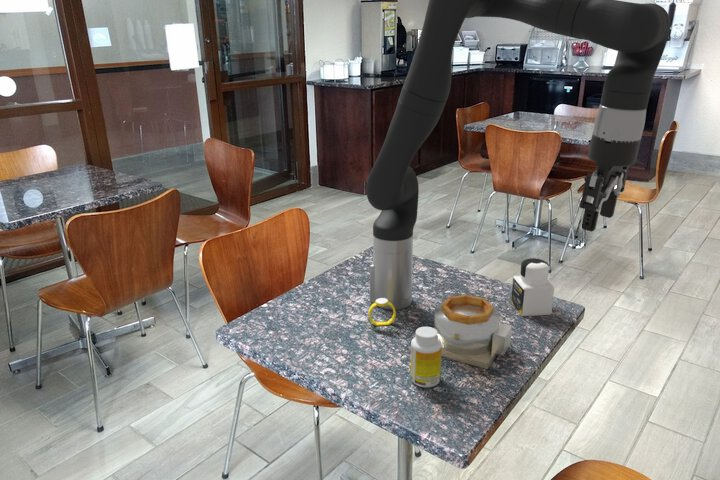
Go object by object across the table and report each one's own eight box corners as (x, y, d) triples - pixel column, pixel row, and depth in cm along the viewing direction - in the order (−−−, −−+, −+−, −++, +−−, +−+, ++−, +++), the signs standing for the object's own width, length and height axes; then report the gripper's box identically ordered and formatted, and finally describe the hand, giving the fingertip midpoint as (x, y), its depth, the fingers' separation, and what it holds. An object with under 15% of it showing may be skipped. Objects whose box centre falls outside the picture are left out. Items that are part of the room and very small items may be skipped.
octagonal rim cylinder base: (420, 350, 112) (421, 312, 109) (446, 321, 123) (447, 285, 120) (496, 371, 105) (499, 331, 102) (516, 338, 116) (519, 301, 113)
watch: (370, 329, 121) (368, 305, 119) (368, 323, 124) (366, 299, 122) (397, 325, 122) (395, 301, 119) (395, 319, 124) (393, 296, 122)
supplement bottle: (446, 384, 101) (448, 335, 98) (420, 392, 99) (421, 342, 95) (429, 368, 106) (431, 321, 102) (404, 376, 104) (405, 328, 100)
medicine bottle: (510, 302, 132) (514, 256, 127) (539, 301, 132) (544, 254, 128) (521, 316, 125) (525, 268, 121) (551, 315, 125) (557, 266, 121)
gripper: (609, 123, 99) (591, 207, 106) (577, 136, 89) (560, 228, 96) (654, 130, 94) (632, 217, 101) (625, 146, 85) (603, 241, 92)
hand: (597, 222), depth 99 cm, fingers open, 8 cm apart
